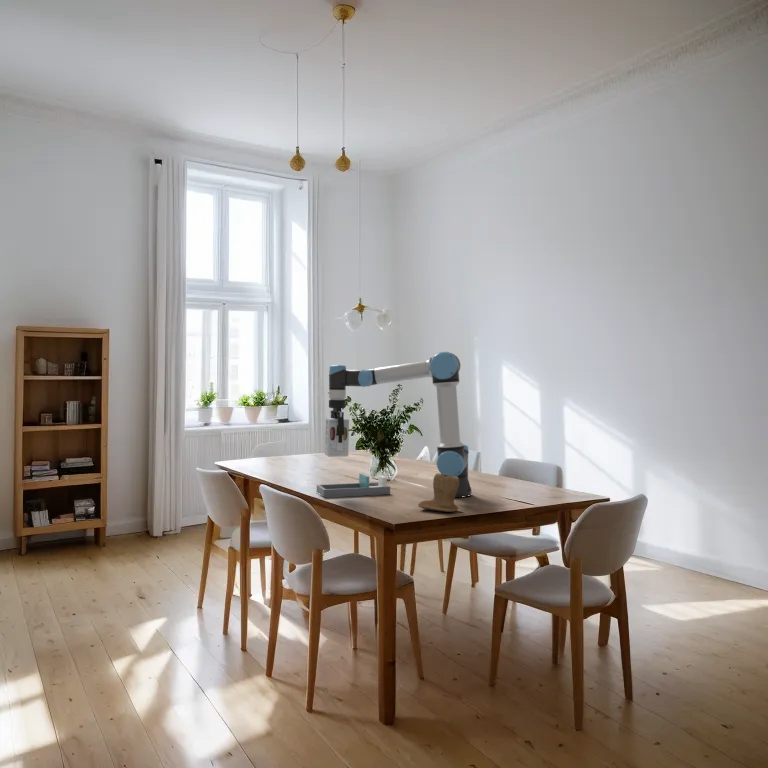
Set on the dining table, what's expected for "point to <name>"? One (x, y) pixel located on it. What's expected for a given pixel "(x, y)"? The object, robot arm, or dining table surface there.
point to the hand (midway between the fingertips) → (336, 448)
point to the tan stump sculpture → (442, 494)
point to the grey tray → (351, 490)
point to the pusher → (365, 481)
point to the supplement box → (332, 438)
